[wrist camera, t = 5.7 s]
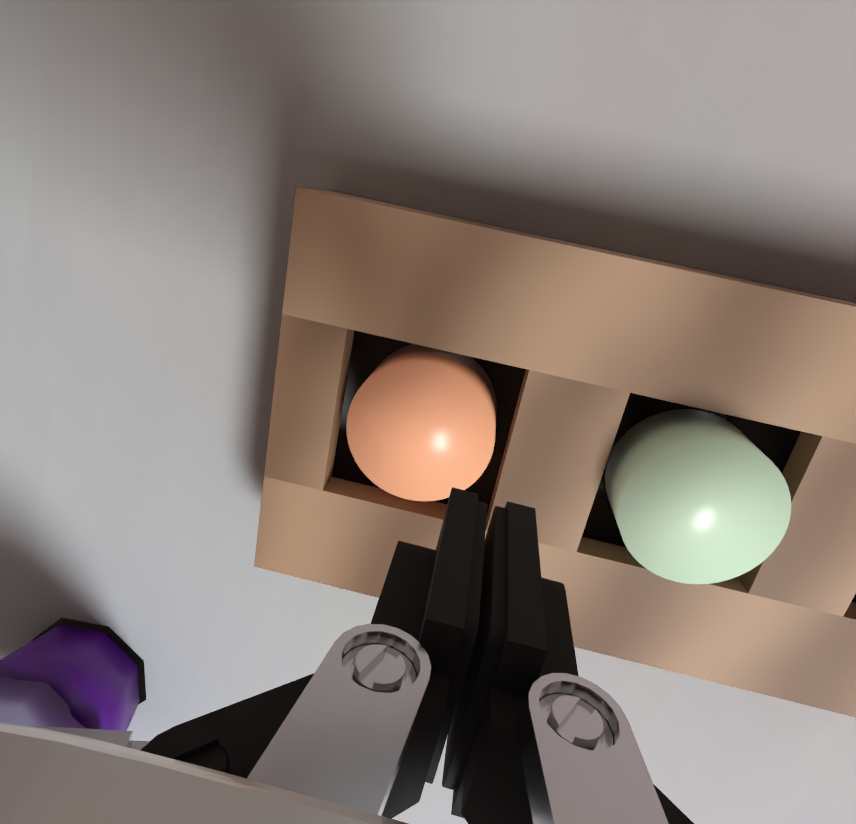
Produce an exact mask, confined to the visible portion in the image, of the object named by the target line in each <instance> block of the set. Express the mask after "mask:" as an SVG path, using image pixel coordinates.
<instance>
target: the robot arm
mask: <svg viewBox="0 0 856 824" xmlns="http://www.w3.org/2000/svg"><path fill="white" fill-rule="evenodd" d="M486 517H487V503H483V502H479V501H478V494H477V493H473V492H469V491H465V490H461V489H457V488H453V487H452V489H451V492H450V496H449V500H448V504H447V508H446V512H445V515H444V519H443V523H442V527H441V531H440V535H439V539H438V543H437V547H436V550H434V549H430V548H426V547H422V546H418V545H415V544H411V543H407V542H403V541H398V543H397V546H396V549H395V552H394V555H393V558H392V561H391V564H390V567H389V570H388V573H387V576H386V579H385V582H384V585H383V588H382V591H381V594H380V597H379V600H378V603H377V606H376V609H375V612H374V615H373V618H372V622H371V624H366V625H361V626H356V627H354V628H352V629H350V630H348V631H346V632H344V633H343V634H342V635H341V636H340V637H339V638H338V639H337V640H336V641H335V643H334V644H333V646H332V647H331V649H330V650H329V652H328V653H327V655H326V657H325V658H324V660H323V661H322V663H321V664H320V666H319V667H318V669H317V670H316V672H315V673H314V674H311V675H309V676H306V677H303V678H301V679H298V680H296V681H293V682H290V683H288V684H285V685H282V686H280V687H277V688H274V689H272V690H269V691H267V692H264V693H261V694H259V695H256V696H253V697H251V698H248V699H245V700H243V701H240V702H238V703H235V704H232V705H230V706H227V707H224V708H222V709H219V710H216V711H214V712H211V713H209V714H206V715H203V716H201V717H198V718H195V719H193V720H190V721H187V722H185V723H182V724H180V725H177V726H174V727H172V728H171V729H169V730H167V731H165V732H163V733H161V734H159V735H157V736H156V737H155V738H154V739H152V740H151V741H150V742H149V741H132V734H133V731H120V730H101V729H83V728H64V727H46V726H27V725H18V724H11V723H3V722H0V824H408V823H404V822H401V821H397V820H394V819H392V818H393V817H395V816H396V815H398V814H400V813H401V812H403V811H405V810H406V809H408V808H410V807H411V806H413V805H415V804H416V803H418V802H419V800H420V797H421V794H422V790H423V787H424V784H425V782H428V783H431V784H432V783H433V780H434V777H435V774H436V771H437V767H438V764H439V761H440V758H441V754H442V751H443V748H444V744H445V741H446V738H447V745H446V754H445V763H444V771H443V781H442V786H443V787H445V788H449V789H453V790H454V791H453V802H452V812H451V814H452V815H455V816H459V817H463V818H465V820H466V821H467V822H468V824H694V823H693V822H692V821H691V820H690V819H689V818H688V817H687V816H686V815H684V814H683V813H682V812H681V811H680V810H679V809H678V808H677V807H676V806H675V805H674V804H673V803H672V802H671V801H670V800H669V799H668V798H667V797H666V796H665V795H664V794H663V793H662V792H661V791H660V790H659V789H658V788H657V787H656V786H655V785H654V784H653V783H652V780H651V778H650V775H649V772H648V770H647V767H646V765H645V762H644V760H643V757H642V755H641V752H640V750H639V747H638V745H637V742H636V739H635V737H634V734H633V732H632V729H631V727H630V724H629V722H628V720H627V718H626V716H625V714H624V712H623V711H622V709H621V707H620V706H619V705H618V704H617V703H616V702H615V700H614V699H613V698H612V697H611V696H610V695H609V694H608V693H606V692H605V691H604V690H602V689H601V688H600V687H598V686H597V685H596V684H594V683H592V682H590V681H588V680H586V679H584V678H582V677H578V670H577V664H576V657H575V650H574V643H573V637H572V630H571V623H570V617H569V610H568V603H567V596H566V590H565V586H564V584H563V583H561V582H557V581H553V580H549V579H546V578H542V577H541V568H540V556H539V545H538V534H537V523H536V511H535V508H532V507H528V506H524V505H520V504H516V503H512V502H508V501H507V503H506V505H505V508H503V507H499V506H495V507H494V510H493V513H492V517H491V520H490V524H489V527H488V531H487V534H486V538H485V531H486ZM447 735H448V737H447Z"/></svg>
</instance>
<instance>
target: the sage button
mask: <svg viewBox="0 0 856 824" xmlns="http://www.w3.org/2000/svg"><path fill="white" fill-rule="evenodd" d="M605 487H606V492H607V496H608V499H609V501H610V504H611V507H612V510H613V513H614V516H615V519H616V522H617V525H618V527H619V530H620V533H621V536H622V539H623V542H624V543H625V545H626V547H627V549H628V551H629V552H630V553H631V555H632V556H633V557H634V558H635V559H636V560H637V561H638V562H639V563H640V564H641V565H642V566H644V567H645V568H646V569H647V570H649V571H651V572H652V573H654V574H656V575H658V576H660V577H663V578H665V579H668V580H671V581H675V582H680V583H685V584H710V583H718V582H722V581H726V580H729V579H732V578H735V577H738V576H740V575H742V574H744V573H746V572H748V571H750V570H752V569H753V568H755V567H756V566H758V565H759V564H760V563H762V562H763V561H764V560H765V559H767V558H768V557H769V555H770V554H771V553H772V552H773V551H774V550H775V549H776V547H777V546H778V545H779V543H780V542H781V540H782V538H783V537H784V535H785V533H786V530H787V527H788V525H789V521H790V516H791V496H790V492H789V488H788V485H787V483H786V481H785V478H784V477H783V475H782V474H781V472H780V470H779V469H778V468H777V467H776V466H775V464H774V463H773V462H772V461H771V460H770V459H769V458H768V457H767V456H766V455H765V454H764V453H762V452H761V451H760V450H759V449H758V448H757V447H756V446H755V445H754V444H753V443H752V442H751V441H750V440H749V439H748V438H747V437H746V436H745V435H744V434H743V433H742V432H741V431H740V430H739V429H738V428H736V427H735V426H734V425H733V424H731V423H730V422H729V421H727V420H725V419H724V418H722V417H720V416H717V415H715V414H712V413H709V412H706V411H701V410H694V409H678V410H670V411H665V412H661V413H658V414H655V415H653V416H650V417H648V418H646V419H644V420H642V421H641V422H639V423H637V424H636V425H634V426H633V427H632V428H631V429H629V430H628V431H627V432H626V433H625V434H624V435H623V436H622V437H621V438H620V440H619V441H618V442H617V444H616V445H615V447H614V448H613V450H612V452H611V454H610V456H609V459H608V462H607V466H606V471H605Z"/></svg>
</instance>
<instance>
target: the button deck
mask: <svg viewBox="0 0 856 824" xmlns="http://www.w3.org/2000/svg"><path fill="white" fill-rule="evenodd" d="M354 330H355V331H360V332H364V333H368V334H373V335H377V336H382V337H386V338H390V339H395V340H399V341H404V342H408V343H413V344H417V345H421V346H426V347H430V348H435V349H439V350H444V351H448V352H452V353H457V354H461V355H466V356H470V357H475V358H479V359H483V360H488V361H492V362H497V363H501V364H505V365H510V366H514V367H519V368H523V369H526V371H525V375H524V379H523V382H522V386H521V390H520V394H519V397H518V401H517V405H516V409H515V412H514V416H513V420H512V424H511V427H510V431H509V435H508V439H507V442H506V446H505V450H504V454H503V457H502V461H501V465H500V469H499V472H498V476H497V480H496V484H495V487H494V491H493V495H492V499H491V502H490V506H489V510H488V514H487V517H486V531H485V538H486V534H487V531H488V527H489V524H490V520H491V517H492V513H493V510H494V507H495V506H499V507H503V508H505V505H506V503H507V501H508V502H512V503H516V504H520V505H524V506H528V507H532V508H535V511H536V523H537V534H538V545H539V556H540V568H541V577H542V578H546V579H549V580H553V581H557V582H561V583H563V584H564V586H565V590H566V596H567V603H568V610H569V617H570V623H571V630H572V637H573V643H574V647H577V648H581V649H585V650H589V651H593V652H597V653H601V654H605V655H609V656H613V657H617V658H621V659H625V660H629V661H633V662H637V663H641V664H645V665H649V666H653V667H657V668H661V669H665V670H669V671H673V672H677V673H681V674H685V675H689V676H693V677H697V678H701V679H705V680H709V681H713V682H717V683H721V684H725V685H729V686H733V687H737V688H741V689H745V690H749V691H753V692H757V693H761V694H765V695H769V696H773V697H777V698H781V699H785V700H789V701H793V702H796V703H800V704H804V705H808V706H812V707H816V708H820V709H824V710H828V711H832V712H836V713H840V714H844V715H848V716H852V717H856V603H854V602H851V601H852V599H853V598H854V596H855V594H856V303H854V302H850V301H845V300H840V299H836V298H831V297H826V296H822V295H817V294H812V293H807V292H803V291H798V290H793V289H789V288H784V287H779V286H775V285H770V284H765V283H761V282H756V281H751V280H747V279H742V278H737V277H732V276H728V275H723V274H718V273H714V272H709V271H704V270H700V269H695V268H690V267H686V266H681V265H676V264H671V263H667V262H662V261H657V260H653V259H648V258H643V257H639V256H634V255H629V254H625V253H620V252H615V251H611V250H606V249H601V248H596V247H592V246H587V245H582V244H578V243H573V242H568V241H564V240H559V239H554V238H550V237H545V236H540V235H536V234H531V233H526V232H521V231H517V230H512V229H507V228H503V227H498V226H493V225H489V224H484V223H479V222H475V221H470V220H465V219H461V218H456V217H451V216H446V215H442V214H437V213H432V212H428V211H423V210H418V209H414V208H409V207H404V206H400V205H395V204H390V203H386V202H381V201H376V200H371V199H367V198H362V197H357V196H353V195H348V194H343V193H339V192H334V191H329V190H320V189H309V188H299V187H296V192H295V201H294V210H293V219H292V228H291V237H290V246H289V255H288V264H287V273H286V282H285V291H284V300H283V309H282V318H281V327H280V336H279V345H278V354H277V363H276V372H275V382H274V391H273V400H272V409H271V418H270V427H269V436H268V445H267V454H266V463H265V472H264V481H263V490H262V499H261V508H260V517H259V526H258V535H257V544H256V553H255V562H254V566H255V567H259V568H263V569H267V570H271V571H275V572H279V573H283V574H287V575H291V576H295V577H299V578H302V579H306V580H310V581H314V582H318V583H322V584H326V585H330V586H334V587H338V588H342V589H346V590H350V591H354V592H358V593H362V594H366V595H370V596H374V597H378V598H379V597H380V594H381V591H382V588H383V585H384V582H385V579H386V576H387V573H388V570H389V567H390V564H391V561H392V558H393V555H394V552H395V549H396V546H397V543H398V541H403V542H407V543H411V544H415V545H418V546H422V547H426V548H430V549H434V550H436V547H437V543H438V539H439V535H440V531H441V527H442V523H443V519H444V515H445V512H446V508H447V504H443V503H439V502H435V501H413V500H408V499H404V498H400V497H397V496H395V495H392V494H390V493H388V492H386V491H385V490H383V489H381V488H376V487H372V486H368V485H364V484H360V483H356V482H352V481H347V480H343V479H339V478H335V477H332V471H333V465H334V458H335V452H336V445H337V439H338V433H339V426H340V420H341V413H342V407H343V401H344V394H345V388H346V381H347V375H348V369H349V362H350V356H351V349H352V343H353V336H354ZM630 393H634V394H638V395H643V396H647V397H651V398H656V399H660V400H665V401H669V402H674V403H678V404H682V405H687V406H691V407H696V408H700V409H704V410H709V411H713V412H718V413H722V414H727V415H731V416H735V417H740V418H744V419H749V420H753V421H758V422H762V423H766V424H771V425H775V426H780V427H784V428H788V429H793V430H797V431H801V433H800V435H799V437H798V440H797V442H796V444H795V446H794V448H793V451H792V453H791V455H790V457H789V459H788V461H787V464H786V466H785V468H784V470H783V472H782V475H783V477H784V478H785V481H786V483H787V485H788V488H789V492H790V496H791V516H790V521H789V525H788V527H787V530H786V533H785V535H784V537H783V538H782V540H781V542H780V543H779V545H778V546H777V547H776V549H775V550H774V551H773V552H772V553H771V554H770V555H769V557H768V558H767V559H765V560H764V561H763V562H762V563H760V564H759V565H758V566H756V567H755V568H753V569H752V570H750V571H748V572H746V573H744V574H742V575H740V576H738V577H735V578H732V579H729V580H726V581H722V582H718V583H710V584H685V583H680V582H675V581H671V580H668V579H665V578H663V577H660V576H658V575H656V574H654V573H652V572H651V571H649V570H647V569H646V568H645V567H644V566H642V565H641V564H640V563H639V562H638V561H637V560H636V559H635V558H634V557H633V556H632V555H631V553H630V552H629V551H628V549H627V548H626V547H622V546H618V545H613V544H609V543H605V542H601V541H597V540H593V539H588V538H584V537H582V534H583V531H584V528H585V525H586V522H587V519H588V516H589V513H590V511H591V508H592V505H593V502H594V499H595V496H596V493H597V490H598V487H599V484H600V481H601V478H602V475H603V472H604V469H605V466H606V463H607V460H608V457H609V454H610V451H611V448H612V445H613V442H614V439H615V436H616V433H617V430H618V427H619V424H620V422H621V419H622V416H623V413H624V410H625V407H626V404H627V401H628V398H629V395H630Z"/></svg>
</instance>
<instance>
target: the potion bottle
mask: <svg viewBox="0 0 856 824" xmlns="http://www.w3.org/2000/svg"><path fill="white" fill-rule="evenodd" d="M145 700H146V691H145V675H144V662H143V661H142V660H141V659H140V658H139V657H138V656H137V655H136V654H135V653H134V652H133V651H132V650H131V649H130V648H129V647H128V646H127V645H126V644H125V643H124V642H123V641H122V640H121V639H120V638H119V637H118V636H117V635H116V634H115V633H114V632H113V631H112V630H111V629H110V628H109V627H105V626H100V625H95V624H90V623H85V622H79V621H74V620H69V619H64V618H61V619H59V620H58V621H57V622H55V623H54V624H53V625H51V626H50V627H49V628H47V629H46V630H45V631H43V632H42V633H41V634H39V635H38V636H37V637H36V638H34V639H33V641H32V642H30V643H28V644H27V645H25V646H23V647H22V648H20V649H18V650H17V651H15V652H13V653H12V654H10V655H8V656H7V657H5V658H3V659H2V660H0V722H3V723H11V724H18V725H27V726H46V727H64V728H83V729H101V730H120V731H127V728H128V726H129V724H130V722H131V719H132V717H133V715H134V713H135V710H136V708H137V706H138V704H140V703H141V702H143V701H145Z"/></svg>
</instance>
